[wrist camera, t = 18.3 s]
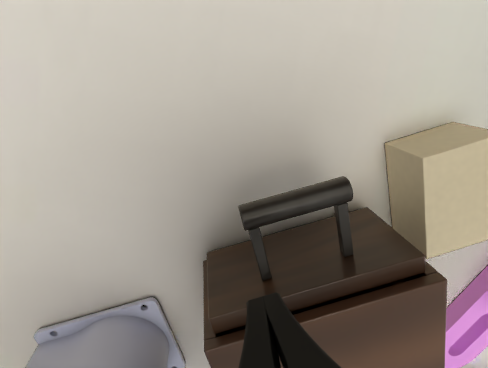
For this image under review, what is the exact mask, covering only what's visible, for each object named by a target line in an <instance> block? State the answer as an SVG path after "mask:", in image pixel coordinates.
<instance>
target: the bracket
mask: <svg viewBox="0 0 488 368" xmlns="http://www.w3.org/2000/svg"><path fill="white" fill-rule="evenodd" d="M487 346H488V266H487V267H486V268H485V269H484V270H483V271H482V272H481V273H480V274H479V275H478V276H477V277H476V278H475V279H474V280H473V281H472V282H471V283H470V284H469V285H468V286H467V288H466V289H465V290H464V291H463V292H462V293H461V294H460V295H459V296H458V297H457V298H456V299H455V300H454V301H453V302H452V303H451V304H450V305H449V306H448V307H447V308H446V340H445V368H460V367H462V366H464V365H466V364H468V363H469V362H471V361H472V360H473V359H475V358H476V357H477V356H478V355H479V354H480V353H481V352H482V351H483V350H484V349H485V348H486V347H487Z"/></svg>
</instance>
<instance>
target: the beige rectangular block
mask: <svg viewBox="0 0 488 368" xmlns="http://www.w3.org/2000/svg"><path fill="white" fill-rule="evenodd" d="M385 152H386V163H387V174H388V185H389V196H390V207H391V218H392V228H393V229H394V230H395V231H397V232H398V233H399V234H400V235H401V236H403V237H404V238H405V239H406V240H407V241H409V242H410V243H411V244H412V245H413V246H415V247H416V248H417V249H418V250H419V251H421V252H422V253H423V254H424V255H425V258H426V259H429V258H432V257H436V256H439V255H442V254H445V253H448V252H451V251H454V250H458V249H461V248H464V247H467V246H470V245H473V244H476V243H479V242H483V241H486V240H488V129H484V128H479V127H474V126H470V125H465V124H460V123H455V122H451V123H448V124H445V125H442V126H438V127H435V128H432V129H429V130H425V131H422V132H419V133H416V134H412V135H409V136H406V137H403V138H399V139H396V140H393V141H390V142H386V143H385Z"/></svg>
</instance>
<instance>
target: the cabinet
mask: <svg viewBox="0 0 488 368" xmlns="http://www.w3.org/2000/svg"><path fill="white" fill-rule="evenodd" d="M203 278H204V352H205V355H206V357H207V359H208V362H209V364H210V367H211V368H239V363H240V359H241V354H242V349H243V342H244V336H245V329H243V330H240V331H236V332H233V333H230V334H229V330H227V331H224V332H220V333H217V334H214V332H213V329H212V327H211V324H210V321H209V318H208V282H207V260H206V261H203ZM404 280H405V281H406V282H403V283H400V284H396V285H393V286H389V287H386V288H383V289H379V290H376V291H372V292H369V293H366V294H362V295H359V296H355V297H352V298H349V299H345V300H342V301H338V302H335V303H332V304H328V305H325V306H321V307H318V308H315V309H311V310H308V311H304V312H301V313H298V314H294V315H293V316H294V317H295V319H296V320H297V321H298V322H299V324H300V325H301V326H302V327H303V328H304V330H305V331H306V332H307V333H308V334H309V335H310V337H311V338H312V339H313V340H314V341H315V342H316V343H317V344H318V345H319V346H320V347H321V348H322V349H323V350H324V352H325V353H326V354H327V355H329V356H330V357H331V358H332V359H333V360H334V361H335V362H336V363H337V364H338V365H339V366H340V367H341V368H445V340H446V303H447V279H446V278H444V277H443V276H442V275H441V274H440V273H438V272H437V271H436V270H435V269H434V268H433V267H432V266H431V265H429V264H428V263H427V262H426V261H425V272H424V273H421V274H417V275H414V276H411V277H407V278H404ZM279 359H280V358H279ZM280 364H281V368H283V366H282V363H281V360H280Z"/></svg>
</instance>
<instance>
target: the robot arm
mask: <svg viewBox="0 0 488 368" xmlns="http://www.w3.org/2000/svg"><path fill="white" fill-rule="evenodd" d="M142 305H146V307H144V306H142ZM246 306H247V316H246V328H245V336H244V342H243V349H242V354H241V359H240V363H239V368H281V364H280V360H281V363H282V366H283V368H341V367H340V366H339V365H338V364H337V363H336V362H335V361H334V360H333V359H332V358H331V357H330V356H329V355H327V354H326V353H325V352H324V350H323V349H322V348H321V347H320V346H319V345H318V344H317V343H316V342H315V341H314V340H313V339H312V338H311V337H310V335H309V334H308V333H307V332H306V331H305V330H304V328H303V327H302V326H301V325H300V324H299V322H298V321H297V320H296V319H295V317H294V316H293V315H292V313H291V312H290V310H289V309H288V307H287V306H286V304H285V303H284V301H283V299H282V298H281V296H280V294H279V293H277V292H275V293H272V294H269V295H265V296H262V297H258V298H255V299H251V300H248V302H247V303H246ZM54 331H55V332H54ZM34 339H35V340H36V342H37V343H38V346H37V348H36V350H35V351H34V353H33V355H32V357H31V358H30V360H29V362H28V363H27V365H26V367H25V368H185V366H186V362H185V360H184V357H183V355H182V353H181V351H180V349H179V347H178V344H177V342H176V340H175V338H174V336H173V333H172V331H171V329H170V327H169V325H168V323H167V320H166V318H165V316H164V314H163V312H162V310H161V307H160V305H159V303H158V301H157V300H156V299H155V298H152V297H151V298H146V299H143V300H139V301H136V302H132V303H129V304H125V305H122V306H119V307H115V308H112V309H108V310H105V311H101V312H98V313H94V314H91V315H87V316H84V317H80V318H77V319H73V320H70V321H66V322H63V323H59V324H56V325H52V326H49V327H45V328H42V329H39V330H37V331H36V333H35V334H34ZM279 358H280V359H279ZM173 366H174V367H173Z"/></svg>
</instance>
